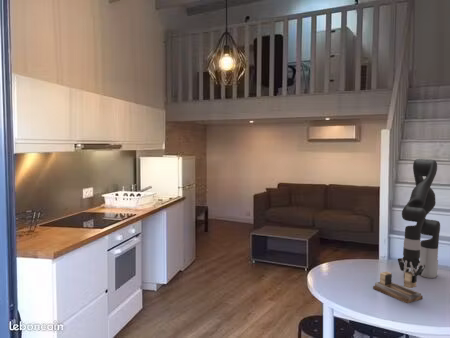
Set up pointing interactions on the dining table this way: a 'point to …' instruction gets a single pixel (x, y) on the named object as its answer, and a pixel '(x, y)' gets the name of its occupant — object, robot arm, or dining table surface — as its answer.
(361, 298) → the dining table surface
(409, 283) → the maple finger
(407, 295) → the rail base
